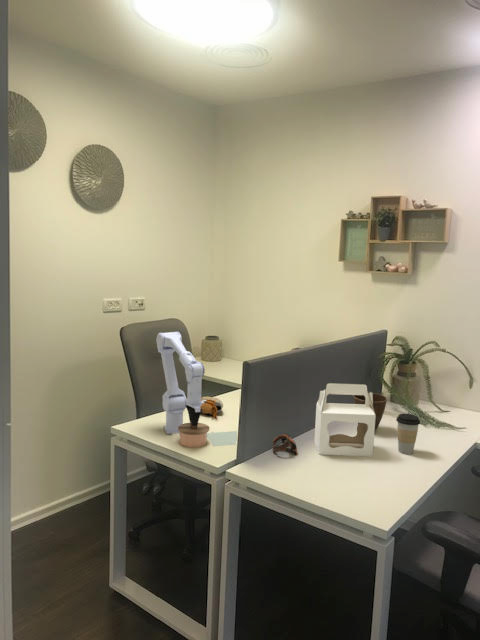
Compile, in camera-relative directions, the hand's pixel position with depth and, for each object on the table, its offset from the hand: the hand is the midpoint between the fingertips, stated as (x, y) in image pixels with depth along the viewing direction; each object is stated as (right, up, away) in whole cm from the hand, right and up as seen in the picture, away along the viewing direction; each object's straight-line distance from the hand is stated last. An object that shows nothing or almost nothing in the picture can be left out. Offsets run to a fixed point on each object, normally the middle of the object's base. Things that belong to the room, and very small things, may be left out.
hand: (193, 423), depth 210 cm
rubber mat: (+13, -8, +6) cm, 17 cm away
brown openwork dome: (+38, -11, -5) cm, 39 cm away
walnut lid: (0, -2, 0) cm, 2 cm away
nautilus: (+4, -4, +38) cm, 39 cm away
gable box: (+62, -11, 0) cm, 63 cm away
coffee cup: (+88, -12, 0) cm, 89 cm away
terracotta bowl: (0, -8, +1) cm, 8 cm away
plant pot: (+78, -8, +24) cm, 82 cm away
